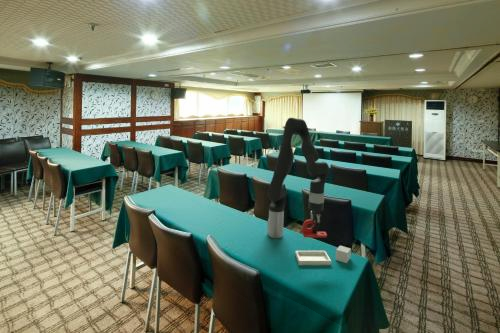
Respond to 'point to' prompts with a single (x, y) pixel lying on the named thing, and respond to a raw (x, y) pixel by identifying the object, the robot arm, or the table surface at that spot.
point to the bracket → (311, 230)
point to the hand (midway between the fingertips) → (314, 232)
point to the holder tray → (312, 258)
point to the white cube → (343, 254)
